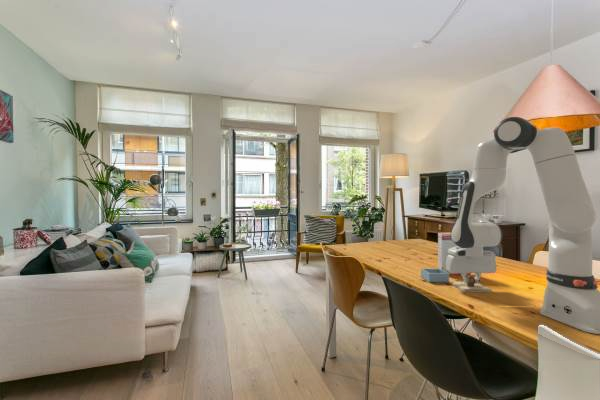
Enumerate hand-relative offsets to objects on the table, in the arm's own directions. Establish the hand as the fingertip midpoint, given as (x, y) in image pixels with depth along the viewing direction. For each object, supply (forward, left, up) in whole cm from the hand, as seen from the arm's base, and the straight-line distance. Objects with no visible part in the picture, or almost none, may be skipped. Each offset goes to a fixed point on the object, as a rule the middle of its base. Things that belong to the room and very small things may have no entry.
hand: (470, 283), depth 131 cm
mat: (0, 0, -2) cm, 2 cm away
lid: (0, 0, -2) cm, 2 cm away
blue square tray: (+12, +10, -2) cm, 16 cm away
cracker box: (+23, -5, -3) cm, 24 cm away
